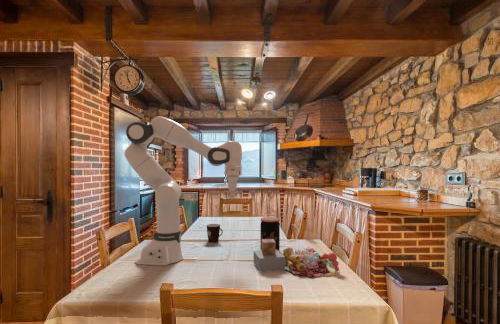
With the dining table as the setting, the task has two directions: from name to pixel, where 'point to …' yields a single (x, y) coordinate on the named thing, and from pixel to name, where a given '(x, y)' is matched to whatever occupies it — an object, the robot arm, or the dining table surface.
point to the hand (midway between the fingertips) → (232, 198)
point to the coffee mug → (213, 232)
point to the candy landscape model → (310, 262)
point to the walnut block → (268, 247)
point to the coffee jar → (270, 230)
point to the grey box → (269, 261)
